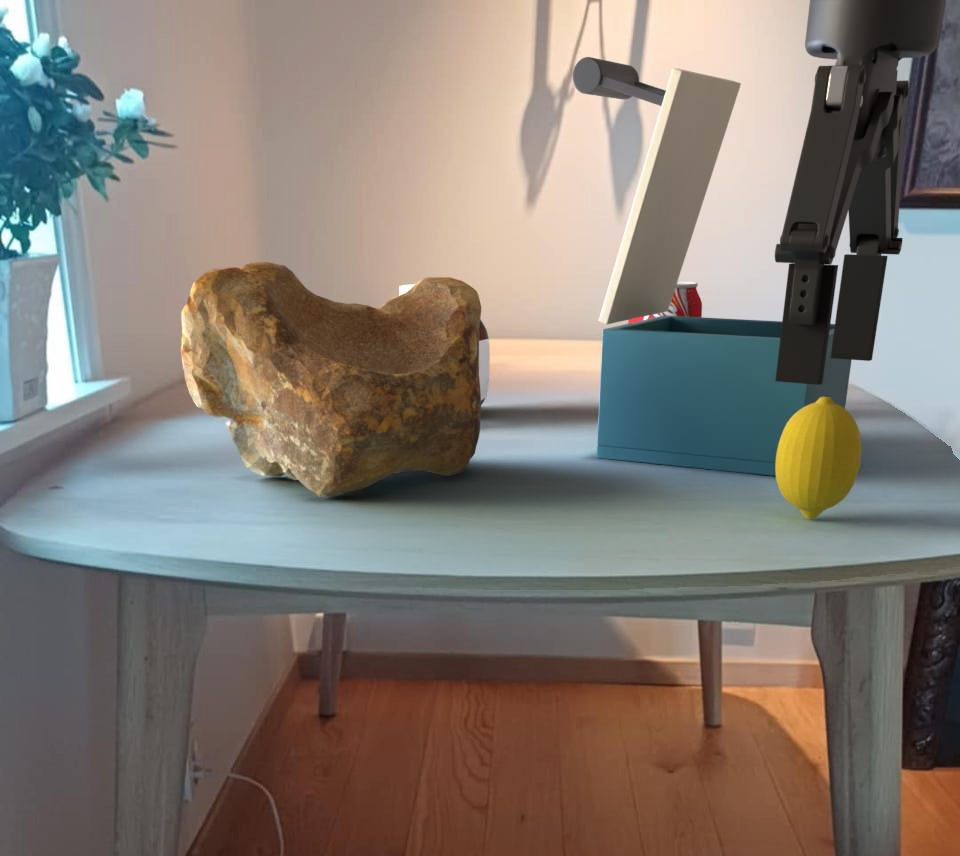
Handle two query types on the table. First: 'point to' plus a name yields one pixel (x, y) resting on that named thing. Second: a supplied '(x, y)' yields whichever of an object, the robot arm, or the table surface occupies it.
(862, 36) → the robot arm
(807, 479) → the lemon
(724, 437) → the box
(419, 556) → the table surface
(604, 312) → the cooler lid
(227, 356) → the rough brown rock
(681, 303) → the soda can
